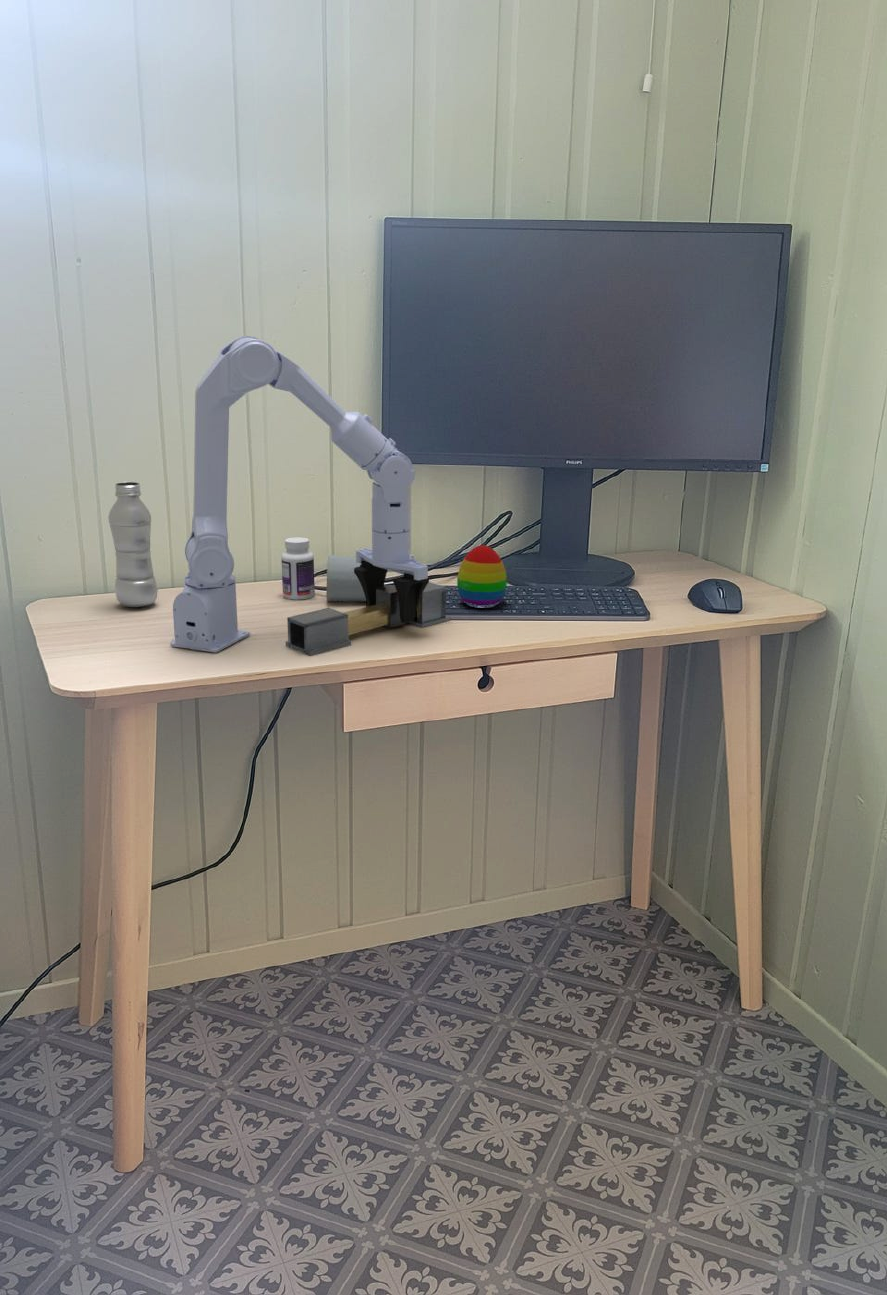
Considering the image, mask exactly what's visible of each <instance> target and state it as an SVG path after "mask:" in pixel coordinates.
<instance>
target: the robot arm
mask: <svg viewBox="0 0 887 1295" xmlns="http://www.w3.org/2000/svg"><path fill="white" fill-rule="evenodd" d="M275 349H276V348H274V347H273V346H272V345H271V344H270V343H268V342H267V341H264V340H263V339H259V338H258V337H255V336H249V335H244V336H241V337H237V338H236V339H234V340H233V341H231V342H230V343H228V344H227V345H225V346H223V348H221V349H220V351H219V352H218V355H217V356H216V358H215V359H214V360H213V363H211V365H210V366H209V368H208V369H207V371H206V372H205V374H204V375H203V376H202V378H201V379H200V381H199V382H198V383H197V385H196V388H195V392H194V393H195V394H194V396H195V397H194V400H195V401H194V451H193V452H194V457H193V458H194V460H193V461H194V463H193V465H194V466H193V516H192V519H191V520H192V521H191V532H190V536H189V537H188V539H187V541H186V542H185V545H184V546H185V547H184V556H185V558H186V561H187V563H188V570H189V571H188V573H187V574H186V576H184V585H183V586H184V587H183V589H182V591H181V592H180V593H179V594H177V595H176V597H175V598H174V600H173V603H172V620H173V632H174V640H173V641H170V642H169V646H171V647H176V648H183V649H188V648H189V649H190V650H197V651H203V652H210V653H219V652H220V651H223V649H225V648H228V647H230V646H232V645H233V644H235V643H237V642H238V641H239V642H240V640H242V639H245V638H246V637H248V636H249V635H251V632H250V631H249V630H242V629H239V628H238V627H239V624H238V609H237V588H236V587H237V586H236V585H237V584H236V576H235V575H234V574H233V572H234V568H235V562H234V557H233V555H232V553H231V551H230V549H229V548H230V547H229V544H228V543H229V542H228V540H229V534H228V533H229V532H228V523H227V522H228V520H227V519H228V518H227V516H228V514H227V513H228V511H227V510H228V508H227V507H228V475H229V474H228V472H229V471H228V469H229V465H228V464H229V436H230V435H229V432H230V430H229V429H230V408H231V407H232V405H234V404H235V403H236V402H237V401H239V400H240V399H241V398H242V397H244V396H245V395H246V394H247V393H249V392H252V391H254V390H258V389H259V388H263V387H266V386H268V385H269V386H271V387H272V388H274V389H276V390H280V391H286V392H290V393H291V394H292V395H293V396H295V398H297V399H298V400H299V401H300V402H301V403H302V404H304V405H305V407H307V408H308V409H310V410H311V412H312V413H314V414H315V415H316V416H317V417H318V418H319V419H321V421H323V422H324V423H326V425H328V426H329V428H330V435H331V436H330V437H331V438H330V439H331V442H332V443H333V444H334V445H335V446H336V447H338V449H340V450H341V451H342V453H344V454H345V455H346V456H347V457H348V458H350V459H351V460H352V461H353V463H355V464H356V465H357V466H358V467H360V469H362V470H364V471H366V472H367V475H368V477H369V479H371V480H373V482H372V484H371V485H372V487H371V488H372V497H371V498H372V499H371V549H370V548H369V549H368V548H362V549H361V548H360V549H357V550H355V557H356V562H357V563H361V565H360V567H355V568H354V573H355V574H356V576H357V578H358V579H359V581H360V583H361V586H362V588H363V591H364V594H365V598H366V601H365V602H366V605H367V607H368V606H372V605H376V589H377V588H381V587H385V581H386V578H387V573H388V571H389V572H394V573H397V574H400V575H403V576H401V577H397V578H393V579H392V583H393V586H395V588H396V591H397V595H398V600H399V612H400V619H401V622H402V623H405V624H406V623H407V622H411V621H414V617H415V613H416V609H417V606H418V603H419V600H420V597H421V595H422V593H423V591H424V589H425V587H426V586H427V584H428V583H429V582H430V577H429V576H428V575H429V573H428V572H429V567H428V565H426V564H423V563H421V562H419V561H417V560H416V559H414V557H415V556H414V554H412V553H411V549H410V548H411V547H410V546H411V537H410V536H411V534H410V533H411V499H410V486H411V485H412V484H413V482H414V480H415V476H416V471H415V470H414V466H413V465H412V464H413V463H412V461H411V459H410V458H409V457H408V456H407V455H406V454H404V453H402V452H401V451H399V449H398V448H397V447H395V446H396V444H397V443H396V442H395V440H393V439H392V438H387V437H386V436H385V435H384V434H383V433H381V432H380V431H379V429H378V428H376V427H375V426H374V425H373V424H372V423H374V419H372V417H371V416H369V415H368V414H367V413H366V414H362V413H360V412H359V411H345V410H344V409H343V408H342V407H341V406H340V405H339V404H338V403H337V402H336V401H335V400H334V399H333V398H332V397H331V396H330V395H329V394H328V393H327V392H326V391H325V389H323V388H322V387H321V386H320V385H319V384H318V383H317V382H316V381H315V380H314V379H313V378H312V377H311V376H310V375H309V374H308V373H307V372H306V371H305V370H304V369H303V368H302V367H301V366H300V365H299V364H297V363H295V362H294V361H293V360H292V359H289V358H288V357H287V356H285V355H284V354H283V353H281V352H279V351H277V350H275ZM189 649H188V650H189Z"/></svg>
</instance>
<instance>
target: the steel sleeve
mask: <svg viewBox="0 0 887 1295" xmlns="http://www.w3.org/2000/svg"><path fill="white" fill-rule="evenodd" d="M286 620H287V641H285V642H284V643H285V647H288V648H290V649H293V650H296V651H298V652H300V653H302V654H305V655H307V656H310V657H311V656H312V657H313V656H314V655H319V654H322V653H326V652H330V651H333V650H338V649H341V648H345V647H349V646H352V640H350V639H349V635H348V614H345V613H343V611H342V612H341V611H338V610H337V609H333V608H330V607H326V608H322V609H318V610H313V611H309V612H304V613H301V614H297V615H293V616H292V615H291V616H288V617H287V618H286Z"/></svg>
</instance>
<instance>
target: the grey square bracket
mask: <svg viewBox="0 0 887 1295" xmlns="http://www.w3.org/2000/svg"><path fill="white" fill-rule="evenodd" d="M446 607H447V586H444V585H440V584H437V583H434V582H431V581H429V583H428V584H427V586H426V587H425V589H424V591H423V593H422V595H421V597H420V600H419V603H418V606H417V617H414V621H411V622H407V623H408V624H410V625H413V626H417V627H419V628H426V627H430V626H433V625H436V624H441V623H444V622H448V621H451V616H449V615H446V614H447V613H446V612H447V608H446Z"/></svg>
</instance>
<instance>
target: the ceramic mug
mask: <svg viewBox="0 0 887 1295" xmlns="http://www.w3.org/2000/svg"><path fill="white" fill-rule="evenodd" d="M327 558H328V559H327V565H326V567H327V568H326V587H325V588H326V590H325V591H326V596H325V597H326V601H327V602H367V601H366V598H365V594H364V591H363V588H362V586H361V583H360V581H359V579H358V578H357V576H356V574H355V573H354V568H355V567H360V565H361V563H357V562H356V556H344V555H335V554H329V555H328V557H327Z"/></svg>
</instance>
